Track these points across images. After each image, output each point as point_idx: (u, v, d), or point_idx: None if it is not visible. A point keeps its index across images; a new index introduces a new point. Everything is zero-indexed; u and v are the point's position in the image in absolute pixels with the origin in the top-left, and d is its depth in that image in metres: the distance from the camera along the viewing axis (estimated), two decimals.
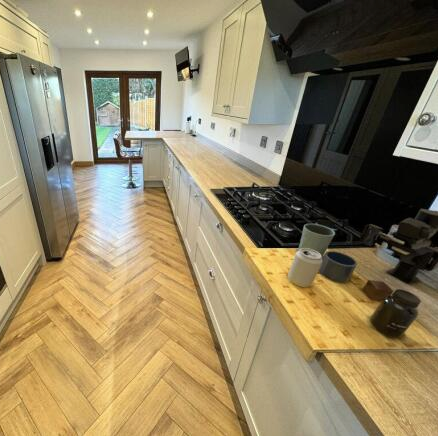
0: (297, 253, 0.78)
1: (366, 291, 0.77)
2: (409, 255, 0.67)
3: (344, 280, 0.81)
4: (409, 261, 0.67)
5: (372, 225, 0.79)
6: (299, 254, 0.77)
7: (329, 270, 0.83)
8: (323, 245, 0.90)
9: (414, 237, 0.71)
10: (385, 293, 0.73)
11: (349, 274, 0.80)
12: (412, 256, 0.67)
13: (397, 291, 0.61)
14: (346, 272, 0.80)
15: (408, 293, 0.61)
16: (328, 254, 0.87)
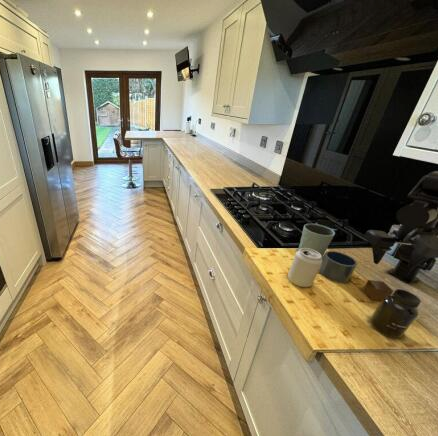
0: (297, 253, 0.78)
1: (366, 291, 0.77)
2: (419, 263, 0.69)
3: (344, 280, 0.81)
4: None
5: (383, 244, 0.66)
6: (299, 254, 0.77)
7: (329, 270, 0.83)
8: (323, 245, 0.90)
9: None
10: (385, 293, 0.73)
11: (349, 274, 0.80)
12: None
13: (397, 291, 0.61)
14: (346, 272, 0.80)
15: (408, 293, 0.61)
16: (328, 254, 0.87)
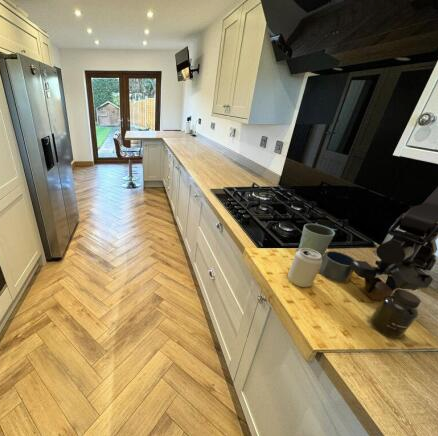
0: (297, 253, 0.78)
1: (366, 291, 0.77)
2: None
3: (344, 280, 0.81)
4: None
5: (365, 275, 0.71)
6: (299, 254, 0.77)
7: (329, 270, 0.83)
8: (323, 245, 0.90)
9: None
10: (385, 293, 0.73)
11: (349, 274, 0.80)
12: None
13: (397, 291, 0.61)
14: (346, 272, 0.80)
15: (408, 293, 0.61)
16: (328, 254, 0.87)
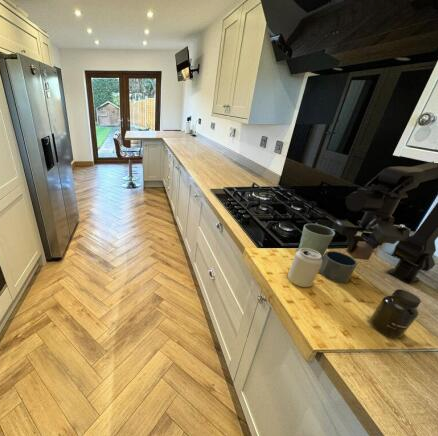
0: (297, 253, 0.78)
1: None
2: None
3: (344, 280, 0.81)
4: None
5: (347, 233, 0.73)
6: (299, 254, 0.77)
7: (329, 270, 0.83)
8: (323, 245, 0.90)
9: None
10: (367, 251, 0.75)
11: (349, 274, 0.80)
12: None
13: (397, 291, 0.61)
14: (346, 272, 0.80)
15: (408, 293, 0.61)
16: (328, 254, 0.87)
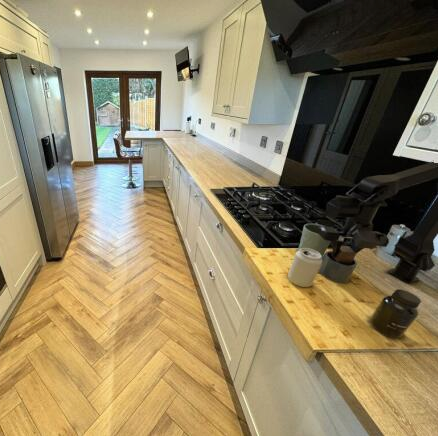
0: (297, 253, 0.78)
1: (333, 255, 0.84)
2: None
3: (344, 280, 0.81)
4: None
5: (330, 238, 0.77)
6: (299, 254, 0.77)
7: (329, 270, 0.83)
8: (323, 245, 0.90)
9: None
10: (349, 255, 0.80)
11: (349, 274, 0.80)
12: None
13: (397, 291, 0.61)
14: (346, 272, 0.80)
15: (408, 293, 0.61)
16: (328, 254, 0.87)
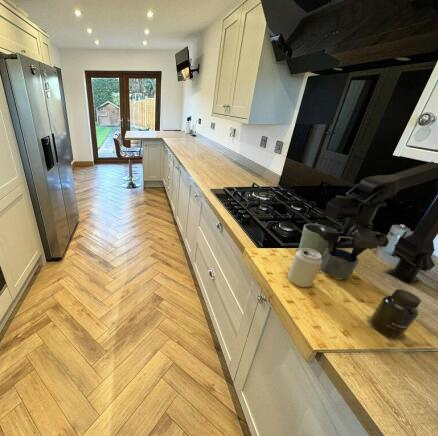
0: (297, 253, 0.78)
1: None
2: (358, 254, 0.80)
3: (346, 277, 0.81)
4: None
5: (329, 238, 0.77)
6: (299, 254, 0.77)
7: (330, 267, 0.82)
8: (323, 245, 0.90)
9: None
10: None
11: (351, 271, 0.80)
12: None
13: (397, 291, 0.61)
14: (348, 269, 0.79)
15: (408, 293, 0.61)
16: None
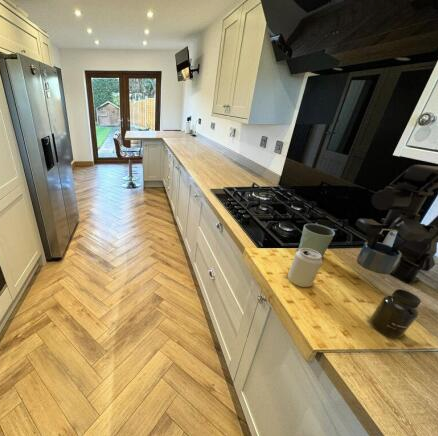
0: (297, 253, 0.78)
1: None
2: (400, 247, 0.76)
3: (387, 272, 0.76)
4: None
5: (371, 231, 0.73)
6: (299, 254, 0.77)
7: (370, 261, 0.78)
8: (323, 245, 0.90)
9: None
10: None
11: (393, 265, 0.75)
12: None
13: (397, 291, 0.61)
14: (390, 263, 0.75)
15: (408, 293, 0.61)
16: (367, 245, 0.82)
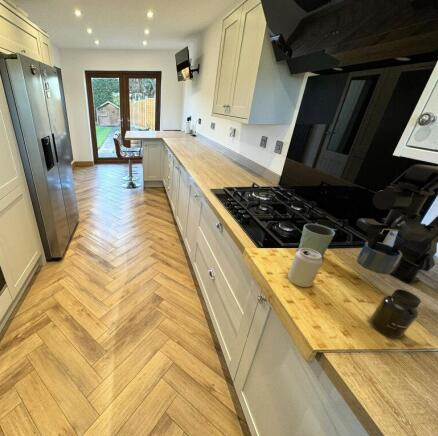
0: (297, 253, 0.78)
1: None
2: (401, 247, 0.76)
3: (388, 272, 0.76)
4: None
5: (372, 231, 0.73)
6: (299, 254, 0.77)
7: (371, 261, 0.77)
8: (323, 245, 0.90)
9: None
10: None
11: (393, 265, 0.75)
12: None
13: (397, 291, 0.61)
14: (391, 263, 0.75)
15: (408, 293, 0.61)
16: (368, 244, 0.81)
